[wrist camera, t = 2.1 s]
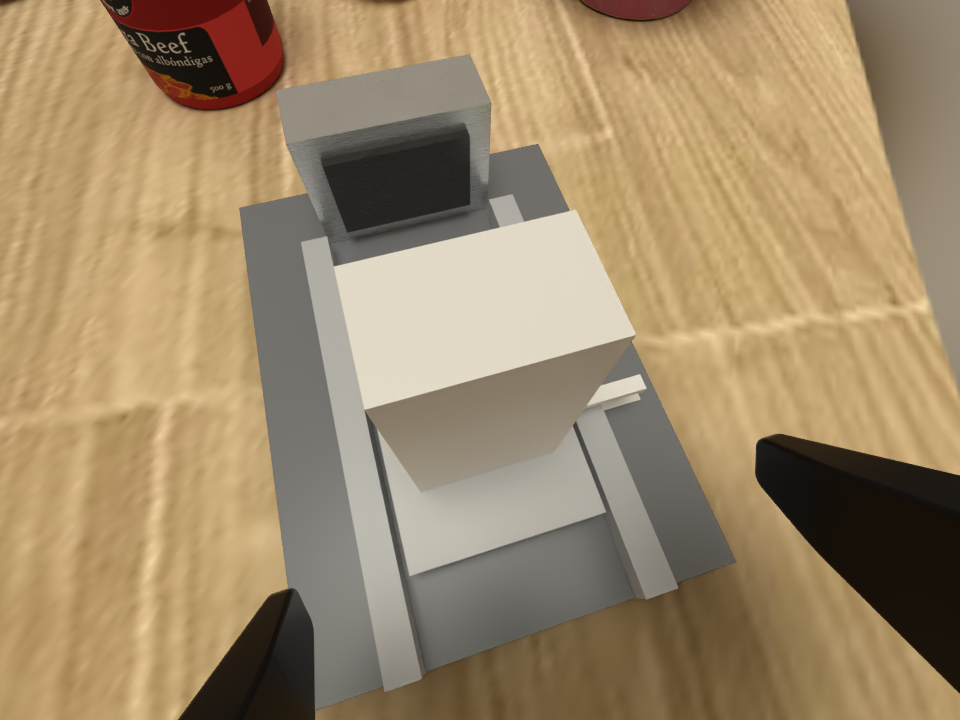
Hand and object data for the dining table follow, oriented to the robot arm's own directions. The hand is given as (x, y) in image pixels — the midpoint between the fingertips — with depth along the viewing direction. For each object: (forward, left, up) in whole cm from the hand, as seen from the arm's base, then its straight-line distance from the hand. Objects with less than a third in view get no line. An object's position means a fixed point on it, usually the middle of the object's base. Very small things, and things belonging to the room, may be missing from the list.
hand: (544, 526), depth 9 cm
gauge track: (+6, -5, -11) cm, 14 cm away
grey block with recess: (+13, -11, -10) cm, 19 cm away
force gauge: (+2, -4, -9) cm, 11 cm away
